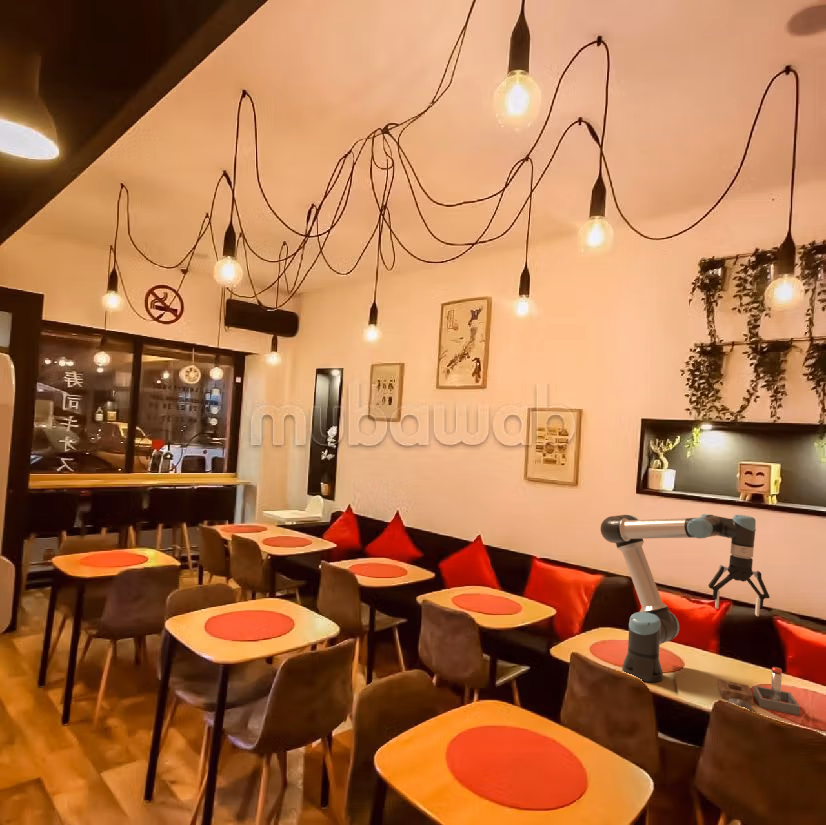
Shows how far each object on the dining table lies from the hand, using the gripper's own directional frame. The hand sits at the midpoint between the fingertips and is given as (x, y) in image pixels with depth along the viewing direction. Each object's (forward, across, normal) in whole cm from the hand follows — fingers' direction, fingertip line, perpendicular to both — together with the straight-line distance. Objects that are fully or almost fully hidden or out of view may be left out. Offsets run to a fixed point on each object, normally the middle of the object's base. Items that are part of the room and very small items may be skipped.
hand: (736, 611), depth 215 cm
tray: (+31, +14, -5) cm, 34 cm away
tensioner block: (+31, +1, -9) cm, 32 cm away
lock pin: (+30, +14, -5) cm, 33 cm away
